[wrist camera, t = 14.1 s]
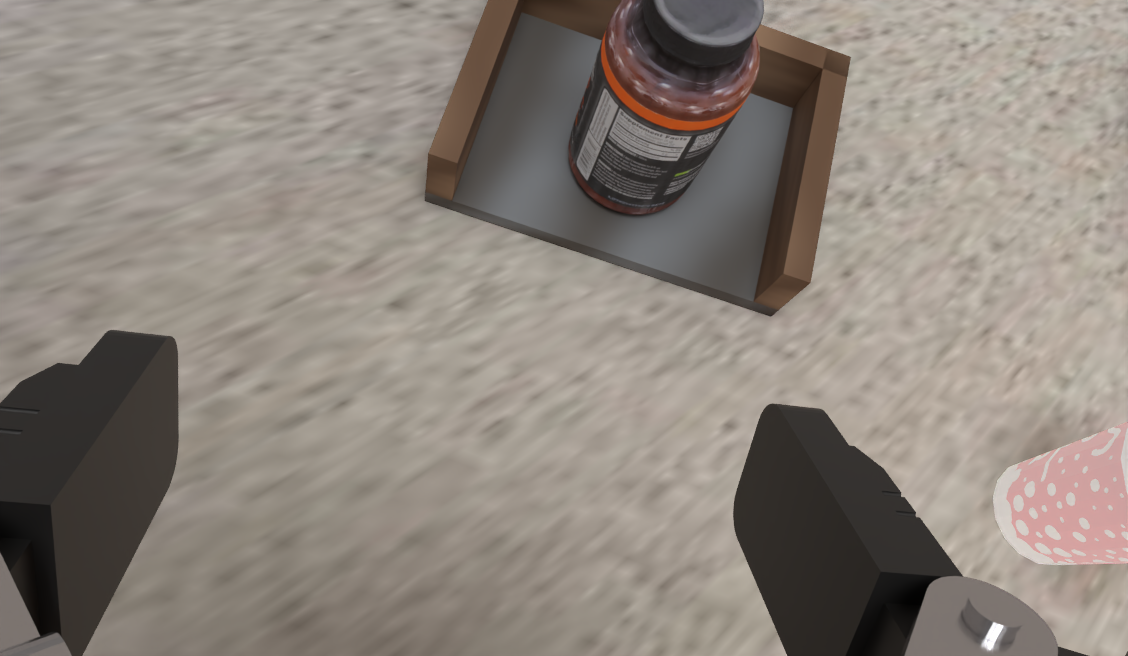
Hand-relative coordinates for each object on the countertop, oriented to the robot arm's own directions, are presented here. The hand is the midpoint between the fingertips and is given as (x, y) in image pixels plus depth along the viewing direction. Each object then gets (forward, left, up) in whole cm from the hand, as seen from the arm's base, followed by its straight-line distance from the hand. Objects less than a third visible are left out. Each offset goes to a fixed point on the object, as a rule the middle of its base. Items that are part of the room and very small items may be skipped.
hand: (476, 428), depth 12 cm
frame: (+3, +21, -23) cm, 31 cm away
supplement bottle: (+3, +19, -22) cm, 30 cm away
